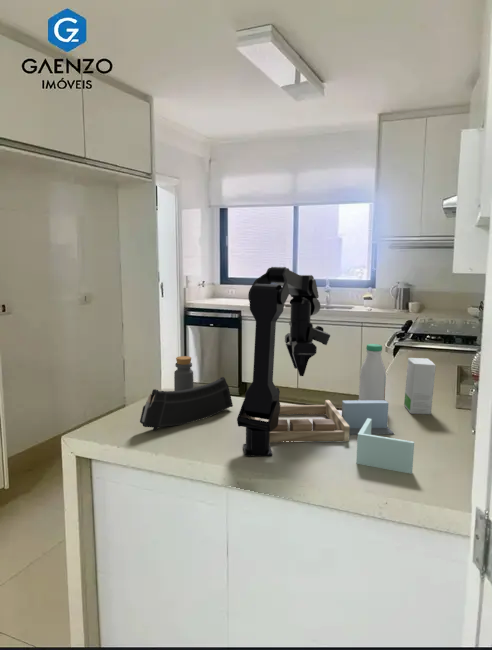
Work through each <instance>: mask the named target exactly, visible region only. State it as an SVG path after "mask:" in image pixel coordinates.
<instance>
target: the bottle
mask: <svg viewBox="0 0 492 650" xmlns="http://www.w3.org/2000/svg"><path fill="white" fill-rule="evenodd" d="M175 360H176V363H175V365H174V367H176V368H177V369H176V370H174V372H173V373H174V375H173V377H174V378H173V382H174V384H173V385H174V390H173V391H180V390H187V389H192V388H194V371H193V370H192V369H191V367H193V363H192V362H191V361H192V357H191V356H187V355H183V356H181V355H180V356H176V357H175Z"/></svg>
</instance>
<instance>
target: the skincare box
mask: <svg viewBox="0 0 492 650" xmlns="http://www.w3.org/2000/svg"><path fill="white" fill-rule="evenodd" d="M436 368H437V366H436V364H435V363H434V362H433V360H431V359H429V358H428V357H427V358H425V357H420V358H419V357H408V358H407V368H406V376H405V377H406V379H405V391H404V403H403V405H404V407H405V408H406V409H407V411H408V412H409V414H414V415H415V414H416V415H432V407H433V397H434V388H435V378H436V377H435V376H436Z"/></svg>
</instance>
